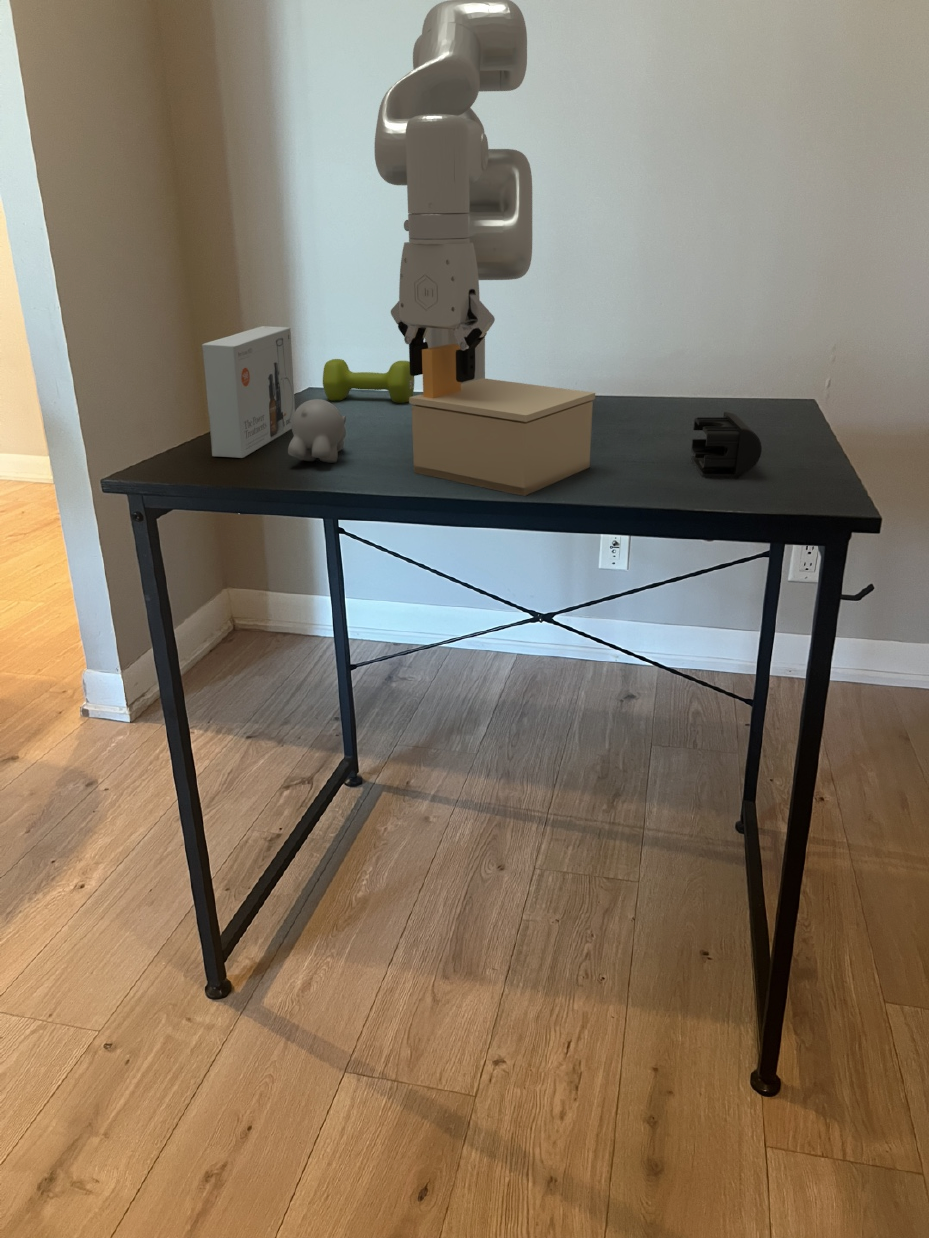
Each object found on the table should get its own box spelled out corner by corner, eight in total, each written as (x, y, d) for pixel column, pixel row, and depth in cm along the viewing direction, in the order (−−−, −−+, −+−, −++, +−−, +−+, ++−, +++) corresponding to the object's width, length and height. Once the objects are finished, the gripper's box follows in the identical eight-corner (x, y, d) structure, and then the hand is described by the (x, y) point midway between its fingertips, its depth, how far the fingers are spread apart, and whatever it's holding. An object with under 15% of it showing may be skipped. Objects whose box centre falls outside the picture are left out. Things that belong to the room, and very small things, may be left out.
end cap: (758, 480, 116) (765, 428, 113) (703, 479, 116) (709, 428, 113) (740, 459, 125) (746, 411, 122) (689, 459, 125) (694, 411, 122)
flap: (483, 384, 128) (483, 335, 125) (595, 398, 118) (597, 346, 115) (409, 403, 116) (407, 350, 113) (526, 422, 106) (527, 363, 103)
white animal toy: (361, 470, 131) (367, 412, 130) (326, 460, 119) (333, 396, 119) (316, 466, 133) (323, 409, 132) (278, 455, 121) (284, 392, 121)
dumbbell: (320, 403, 162) (317, 363, 159) (335, 395, 169) (332, 356, 166) (406, 407, 159) (405, 365, 156) (418, 398, 166) (417, 358, 163)
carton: (483, 448, 131) (483, 386, 128) (589, 467, 121) (592, 401, 118) (413, 472, 120) (411, 405, 116) (524, 496, 110) (525, 424, 106)
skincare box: (246, 459, 127) (233, 345, 120) (211, 458, 128) (196, 344, 121) (300, 426, 146) (291, 325, 139) (269, 424, 147) (258, 324, 140)
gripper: (366, 230, 111) (374, 375, 119) (477, 232, 101) (478, 389, 109) (405, 228, 116) (410, 367, 124) (514, 230, 107) (512, 380, 114)
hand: (442, 376), depth 116 cm, fingers open, 7 cm apart
